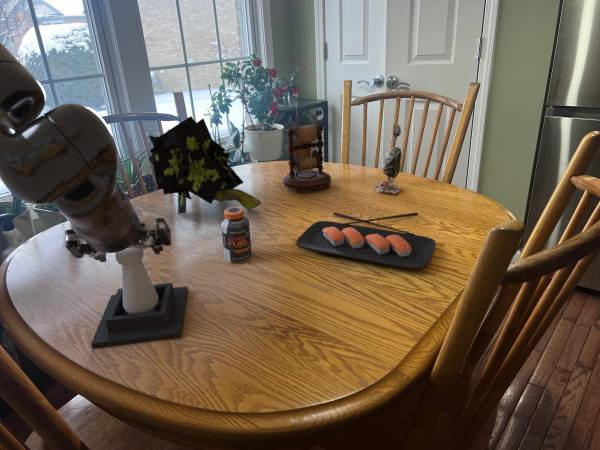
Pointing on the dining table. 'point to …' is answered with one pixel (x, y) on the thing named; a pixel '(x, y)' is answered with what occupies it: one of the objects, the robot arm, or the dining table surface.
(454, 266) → the dining table surface
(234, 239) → the pill bottle
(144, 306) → the salt shaker
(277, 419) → the dining table surface
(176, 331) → the base pad
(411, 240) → the sushi plate
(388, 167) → the grey upright piece
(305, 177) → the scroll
